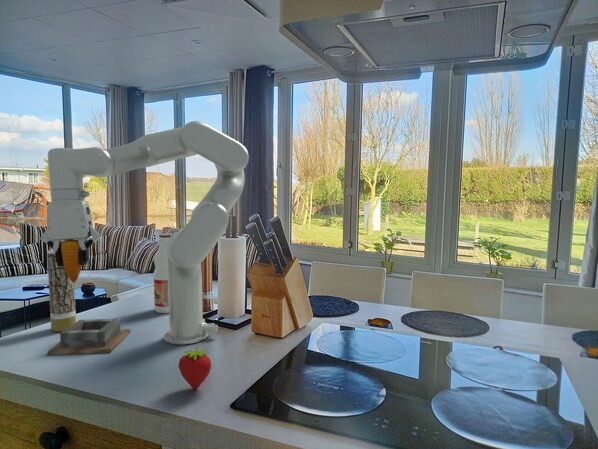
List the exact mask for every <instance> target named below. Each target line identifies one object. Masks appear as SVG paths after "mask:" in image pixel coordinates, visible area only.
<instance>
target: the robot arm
mask: <svg viewBox="0 0 598 449" xmlns="http://www.w3.org/2000/svg"><path fill="white" fill-rule="evenodd" d="M197 155H198V156H200V157H203V158H204V159H206V160H207V161H209V162H212V163H213V164H214V167H215V168H216V172H217V175H216V179H215V181H214V183H213V184H212V185H211V187H210V188H209V190H208V192H207V193H206V194H205V195H204V197H203V198H202V199H201V200H200V201H199V203H197V205H196V206H195V207H194V208H193V210H192V212H191V214H190V219H189V221H188V222H186V224H185V226H184V227H183V229H182V230H180V231H179V230H178V231H176V232H174V233H172V234H173V235H172V236H171V237H170V239H169V240H168V243H167V264H168V296H169V313H168V322H169V323H168V326H169V327H168V328H169V329H168V331H167V332H165V333H164V335H163V340H164V342H166V343H168V344H171V345H190V344H196V343H199V342H202V341H204V340H206V338H208V336H209V332H214V333H215V332H218V331H219V330H218V324H215V322H212V323H208V322H206V318H203V273H202V270H203V269H202V262H203V261H204V260H205V258H206V257H208V255H209V253H211V251H212V249H213V248H214V247H215V246H216V244H217V243H218V241H219V240H220V239H221V237H222V236H223V235H224V233H225V231H226V230H227V228H228V226H229V223H230V222H229V219H230V218H229V217H230V216H229V213H230V211H231V210H232V209H233V208H234V206H235V205H236V203H237V202H238V200H239V199H240V197H241V196H242V194H243V191H244V187H245V179H246V176H245V168H246V167H247V165H248V163H249V160H250V159H249V158H250V155H249V152H248V150H247V148H246V146H244V145H243V144H242V143H240V142H239V141H237V140H235V139H234V138H232V137H231V136H228V135H227V134H225V133H223V132H221V131H219V130H217V129H215V128H214V127H212V126H210V125H208V124H206V123H204V122H202V121H199V120H193V121H189V122H187V123H186V124H185V125H184V126H180V127H177V128H172V129H167V130H162V131H158V132H152V133H149V134H144V135H143V136H141V137H139V138H137V139H136V140H134V141H132V142H129V143H125V144H123V145H119V146H115V147H114V146H113V147H110V148H105V149H104V148H101V147H98V146H96V147H95V146H93V147H83V148H69V147H55V148H51V149H49V150H48V152H47V164H48V175H49V176H48V177H49V188H50V189H49V190H50V201H49V202H48V204H47V205H48V206H47V209H46V210H47V211H46V229H45V230H44V232H43V233H42V235H41V236H40V238H39V239H40V241H41V242H42V243H45V244H47V246H49V247H50V249H51V250H53V251H55V257H56V263H57V265H58V266H62V265H63V261H62V254H61V243H62V242H63V241H66V240H70V239H73V240H78V242H79V245H80V247H81V250H80V251H79V259H80V265H81V266H85V265H87V264H88V262H89V261H90V256H89V249H90V248H91V246H93V244H94V243H95V242H96V241H98V240H100V238H101V234H100V233H99V232H98V231H97V230H96V229H95V228H94V222H93V217H92V211H91V208H90V205H89V204H90V203H89V201H88V200H85V199H86V198H87V197H90V191H86V190H85V188H84V179H83V175H84V176H93V177H96V178H106V177H107V178H108V177H110V176H115V175H120V174H123V173H126V172H132V171H134V170H135V171H136V170H138V169H142V168H143V169H144V168H149V167H154V166H156V165H161V164H165V163H169V162H173V161H176V160H180V159H185V158H189V157H193V156H197ZM88 238H89V239H88Z"/></svg>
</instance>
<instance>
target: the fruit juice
mask: <svg viewBox="0 0 598 449" xmlns="http://www.w3.org/2000/svg"><path fill="white" fill-rule="evenodd" d="M173 234H174V233H166V232H165V233H160V234H159V235H158V237H159V240H160V242H159V246H158V249H157V250H156V252H155V254H154V256H153V263H154V266H155V267H154V271H153V292H154V293H153V294H154V296H153V298H154V311H155V312H156V313H159V314H169V296H168V264H167V243H168V240H169V239H170V237H171V236H172V235H173Z"/></svg>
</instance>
